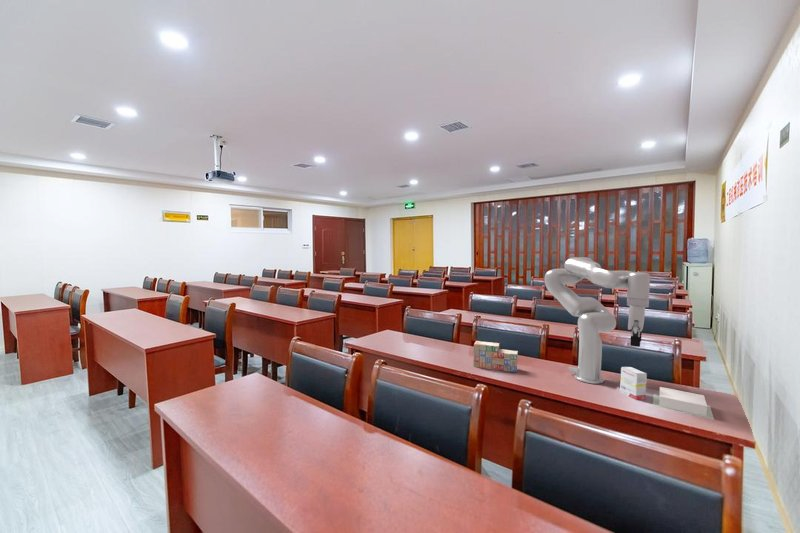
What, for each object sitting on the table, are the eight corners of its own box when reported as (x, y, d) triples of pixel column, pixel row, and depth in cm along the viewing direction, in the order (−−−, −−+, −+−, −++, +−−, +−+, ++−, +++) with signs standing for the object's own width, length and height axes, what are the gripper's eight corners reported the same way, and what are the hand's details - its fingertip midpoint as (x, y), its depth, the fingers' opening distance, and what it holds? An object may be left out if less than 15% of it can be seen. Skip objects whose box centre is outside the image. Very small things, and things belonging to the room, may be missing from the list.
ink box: (646, 401, 145) (647, 373, 144) (635, 402, 144) (637, 373, 143) (629, 393, 153) (630, 366, 153) (619, 393, 152) (620, 366, 152)
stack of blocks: (517, 368, 182) (518, 345, 181) (516, 372, 176) (517, 348, 175) (475, 363, 190) (475, 340, 189) (473, 366, 184) (473, 343, 184)
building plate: (652, 408, 139) (652, 405, 139) (653, 396, 150) (653, 394, 150) (713, 422, 128) (714, 419, 128) (709, 408, 139) (709, 405, 139)
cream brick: (659, 406, 138) (659, 396, 138) (659, 396, 148) (659, 386, 148) (706, 416, 130) (707, 406, 130) (703, 405, 140) (704, 395, 140)
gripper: (628, 299, 155) (626, 338, 156) (625, 303, 141) (623, 346, 142) (649, 300, 151) (647, 340, 152) (648, 305, 137) (646, 349, 138)
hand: (635, 343), depth 147 cm, fingers open, 9 cm apart
